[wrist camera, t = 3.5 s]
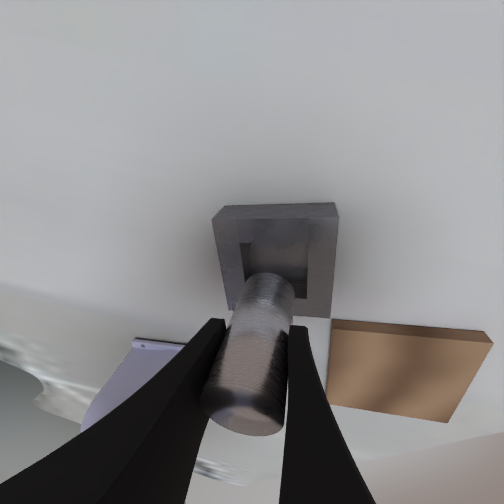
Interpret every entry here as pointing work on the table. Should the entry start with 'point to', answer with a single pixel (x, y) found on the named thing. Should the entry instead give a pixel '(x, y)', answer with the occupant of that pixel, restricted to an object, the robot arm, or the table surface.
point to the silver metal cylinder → (253, 360)
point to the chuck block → (280, 250)
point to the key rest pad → (402, 368)
